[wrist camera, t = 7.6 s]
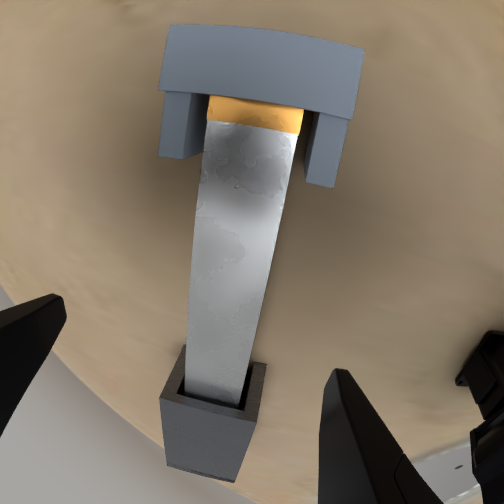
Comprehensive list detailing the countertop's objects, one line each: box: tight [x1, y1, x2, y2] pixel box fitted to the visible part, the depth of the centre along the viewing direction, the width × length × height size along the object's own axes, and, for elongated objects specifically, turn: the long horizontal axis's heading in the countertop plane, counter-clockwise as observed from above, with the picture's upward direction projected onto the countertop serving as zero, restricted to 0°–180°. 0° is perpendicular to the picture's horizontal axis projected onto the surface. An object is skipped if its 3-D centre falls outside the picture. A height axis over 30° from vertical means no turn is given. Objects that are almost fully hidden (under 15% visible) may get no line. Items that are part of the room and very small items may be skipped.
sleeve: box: [159, 345, 267, 483], centre depth 25 cm, size 7×13×6 cm, turn 171°
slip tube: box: [185, 95, 304, 409], centre depth 19 cm, size 4×22×4 cm, turn 171°
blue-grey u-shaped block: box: [158, 24, 365, 188], centre depth 14 cm, size 8×6×6 cm
